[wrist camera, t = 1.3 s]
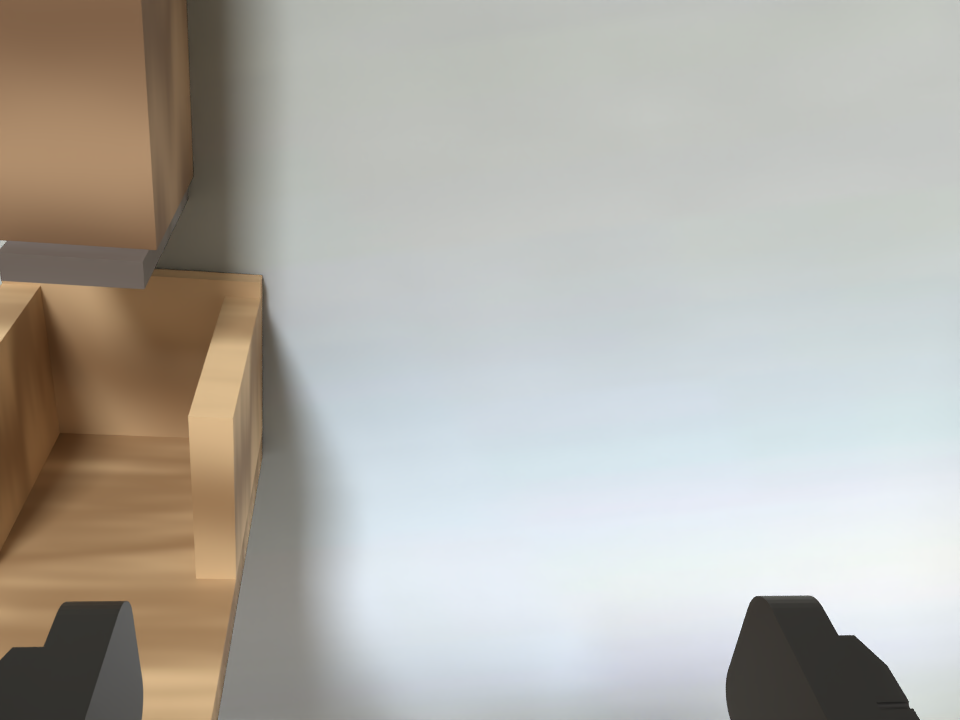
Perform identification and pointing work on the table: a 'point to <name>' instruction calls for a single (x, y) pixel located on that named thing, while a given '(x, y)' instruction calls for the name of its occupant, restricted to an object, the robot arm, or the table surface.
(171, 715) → the wooden chair
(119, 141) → the light brown wooden block
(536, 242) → the table surface
